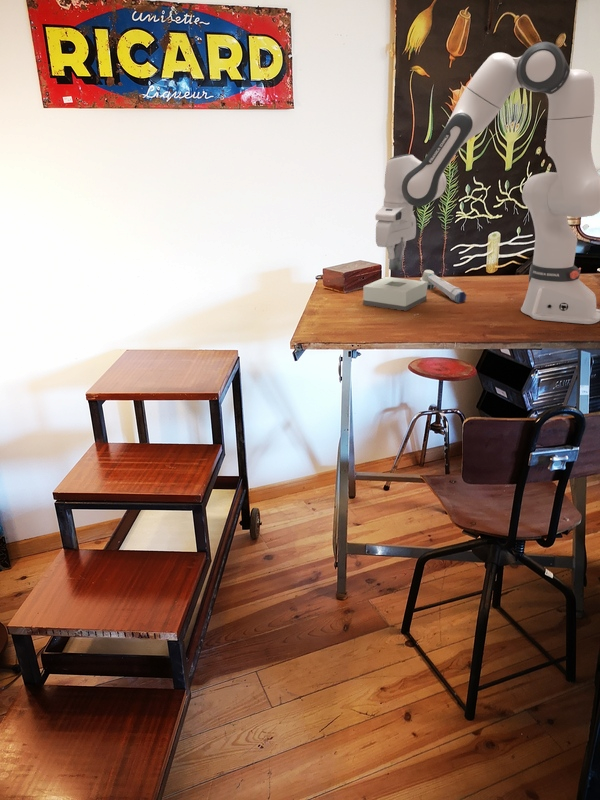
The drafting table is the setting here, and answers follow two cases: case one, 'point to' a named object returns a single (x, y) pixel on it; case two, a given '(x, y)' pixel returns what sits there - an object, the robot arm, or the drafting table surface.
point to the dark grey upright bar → (397, 257)
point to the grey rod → (443, 286)
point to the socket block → (395, 293)
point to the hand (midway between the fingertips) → (395, 257)
